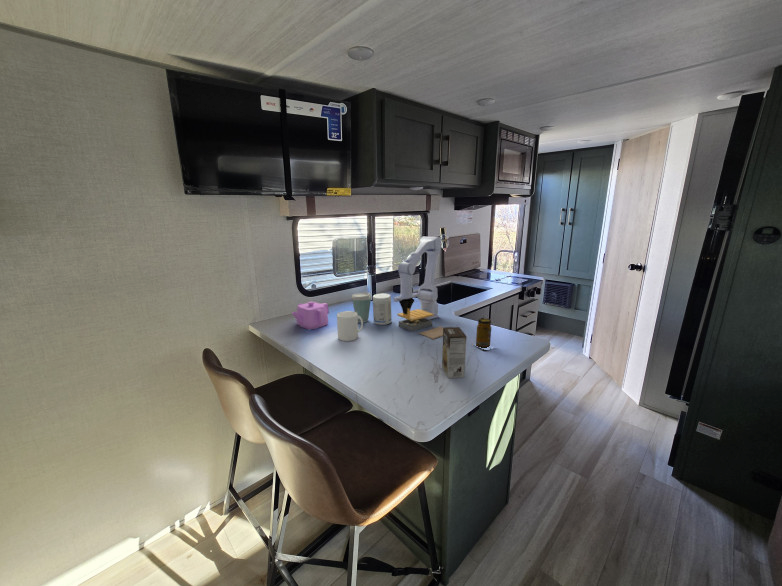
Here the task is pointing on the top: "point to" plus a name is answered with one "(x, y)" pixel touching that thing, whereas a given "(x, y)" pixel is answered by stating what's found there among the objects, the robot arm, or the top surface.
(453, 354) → the coffee box
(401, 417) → the top surface
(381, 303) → the supplement tub
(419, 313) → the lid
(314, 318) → the teakettle
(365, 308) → the disposable coffee cup
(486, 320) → the condiment
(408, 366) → the top surface
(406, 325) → the parts tub
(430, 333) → the mat
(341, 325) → the mug
